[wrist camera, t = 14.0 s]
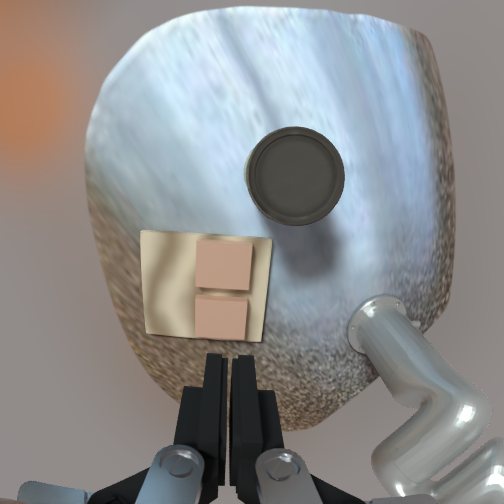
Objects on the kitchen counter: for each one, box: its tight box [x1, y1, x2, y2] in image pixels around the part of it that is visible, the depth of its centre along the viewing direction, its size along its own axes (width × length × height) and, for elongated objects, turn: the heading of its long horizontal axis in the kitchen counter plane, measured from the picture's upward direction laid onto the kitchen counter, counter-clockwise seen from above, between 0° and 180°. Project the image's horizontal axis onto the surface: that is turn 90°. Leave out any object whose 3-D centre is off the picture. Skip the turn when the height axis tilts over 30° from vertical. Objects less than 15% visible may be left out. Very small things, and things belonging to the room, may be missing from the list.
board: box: [140, 230, 272, 342], centre depth 46 cm, size 20×18×1 cm
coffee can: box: [244, 127, 345, 226], centre depth 35 cm, size 10×10×14 cm
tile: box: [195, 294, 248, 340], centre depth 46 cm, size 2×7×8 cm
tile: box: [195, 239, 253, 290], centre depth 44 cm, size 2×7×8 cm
